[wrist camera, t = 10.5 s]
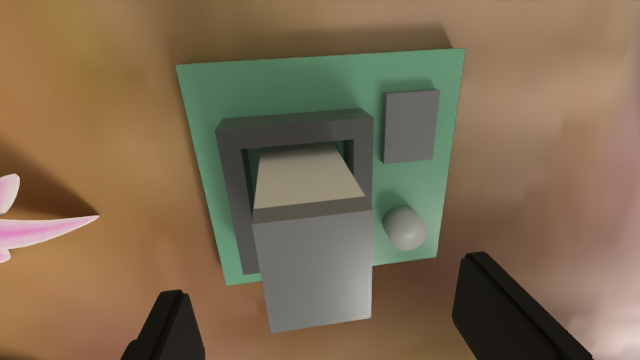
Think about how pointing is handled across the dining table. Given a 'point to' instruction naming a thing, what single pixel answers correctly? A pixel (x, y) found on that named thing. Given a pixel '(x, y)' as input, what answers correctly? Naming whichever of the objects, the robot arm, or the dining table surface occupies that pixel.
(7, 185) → the lily
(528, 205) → the dining table surface
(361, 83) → the board
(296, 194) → the plug
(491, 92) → the dining table surface
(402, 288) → the dining table surface
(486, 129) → the dining table surface
